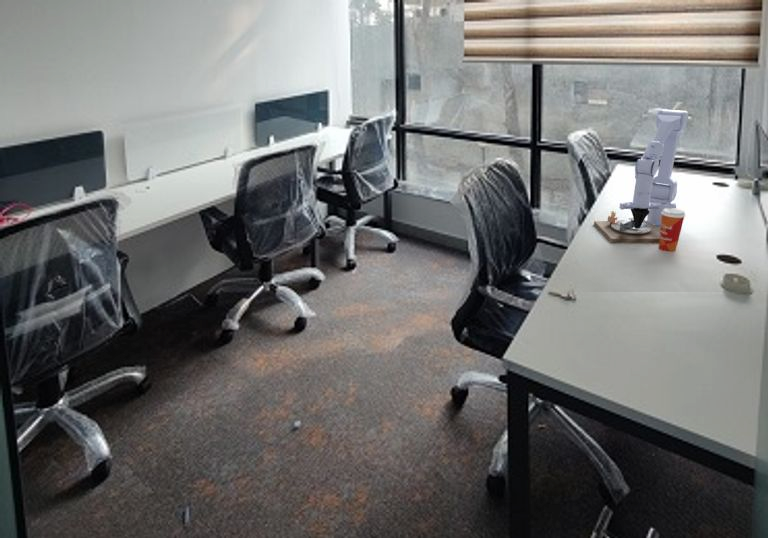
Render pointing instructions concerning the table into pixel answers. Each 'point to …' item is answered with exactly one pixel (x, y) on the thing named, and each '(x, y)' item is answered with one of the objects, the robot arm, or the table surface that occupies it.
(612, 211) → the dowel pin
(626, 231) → the flange plate
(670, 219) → the paper cup
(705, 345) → the table surface
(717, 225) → the table surface
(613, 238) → the base board
